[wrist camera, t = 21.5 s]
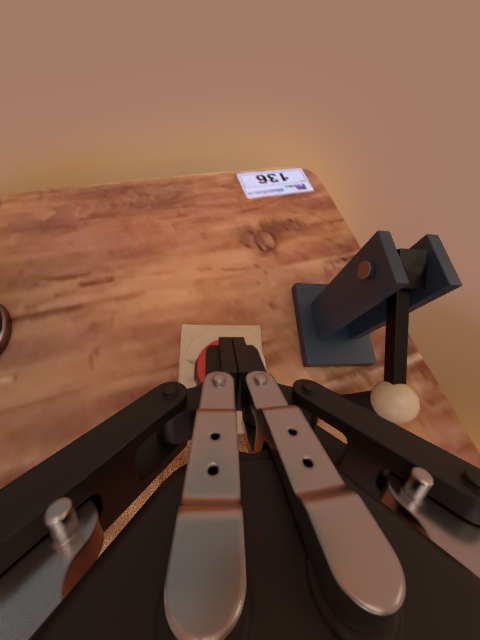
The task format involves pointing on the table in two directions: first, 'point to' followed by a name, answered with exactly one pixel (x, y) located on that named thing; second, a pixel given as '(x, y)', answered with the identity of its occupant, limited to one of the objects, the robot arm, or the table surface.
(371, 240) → the switch bracket
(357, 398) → the rest post
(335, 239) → the table surface
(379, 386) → the switch lever
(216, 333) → the control box
